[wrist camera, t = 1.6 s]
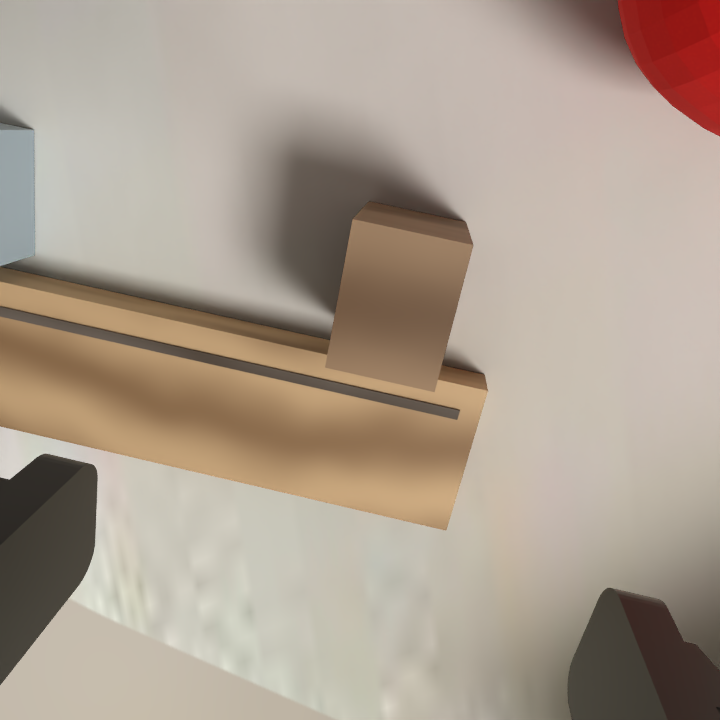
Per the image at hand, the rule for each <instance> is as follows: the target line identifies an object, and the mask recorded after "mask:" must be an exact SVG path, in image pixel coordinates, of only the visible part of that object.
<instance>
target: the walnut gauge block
mask: <svg viewBox="0 0 720 720" xmlns="http://www.w3.org/2000/svg"><path fill="white" fill-rule="evenodd" d="M472 248H473V243H472V239H471V236H470V233H469V230H468V227H467V224H466V222H464V221H459V220H455V219H450V218H445V217H441V216H436V215H431V214H427V213H422V212H417V211H412V210H408V209H403V208H398V207H394V206H389V205H384V204H380V203H375V202H370V201H369V202H368V203H367V204H366V205H365V206H364V207H363V208H362V209H361V210H360V212H359V213H358V214H357V215H356V216H355V217H354V218H353V219H352V225H351V230H350V235H349V241H348V246H347V252H346V257H345V262H344V268H343V273H342V279H341V284H340V289H339V295H338V300H337V305H336V311H335V316H334V322H333V327H332V332H331V338H330V343H329V348H328V354H327V359H326V365H325V368H329V369H333V370H338V371H342V372H347V373H351V374H356V375H360V376H365V377H369V378H373V379H378V380H382V381H387V382H391V383H396V384H400V385H405V386H409V387H413V388H418V389H422V390H427V391H431V392H435V389H436V385H437V381H438V377H439V374H440V370H441V366H442V362H443V358H444V355H445V351H446V347H447V343H448V339H449V336H450V332H451V328H452V324H453V320H454V317H455V313H456V309H457V305H458V301H459V298H460V294H461V290H462V286H463V282H464V279H465V275H466V271H467V267H468V263H469V260H470V256H471V252H472Z"/></svg>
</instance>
